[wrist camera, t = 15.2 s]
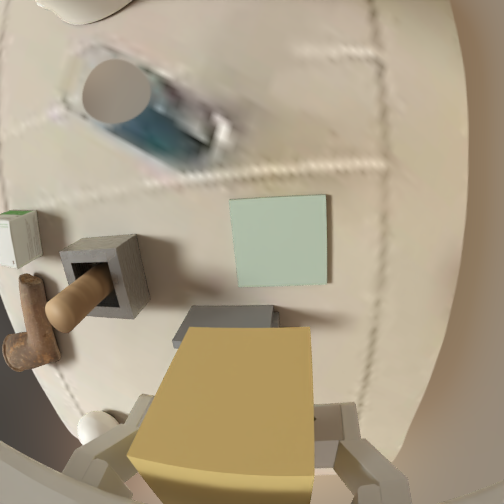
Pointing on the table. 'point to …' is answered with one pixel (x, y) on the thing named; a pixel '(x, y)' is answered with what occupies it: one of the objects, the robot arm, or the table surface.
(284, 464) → the block
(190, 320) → the case
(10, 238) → the small box
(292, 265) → the pad
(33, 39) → the table surface
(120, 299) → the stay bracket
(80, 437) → the white ovoid
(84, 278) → the rod
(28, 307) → the pipe
